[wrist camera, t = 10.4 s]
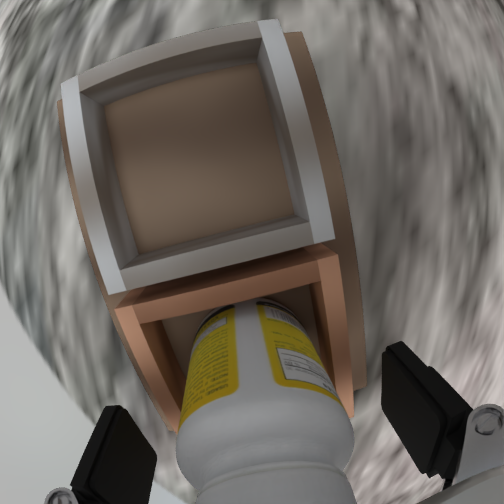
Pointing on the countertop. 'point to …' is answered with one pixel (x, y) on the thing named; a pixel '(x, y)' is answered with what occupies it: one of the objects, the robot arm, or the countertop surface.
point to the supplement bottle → (261, 412)
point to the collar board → (213, 198)
